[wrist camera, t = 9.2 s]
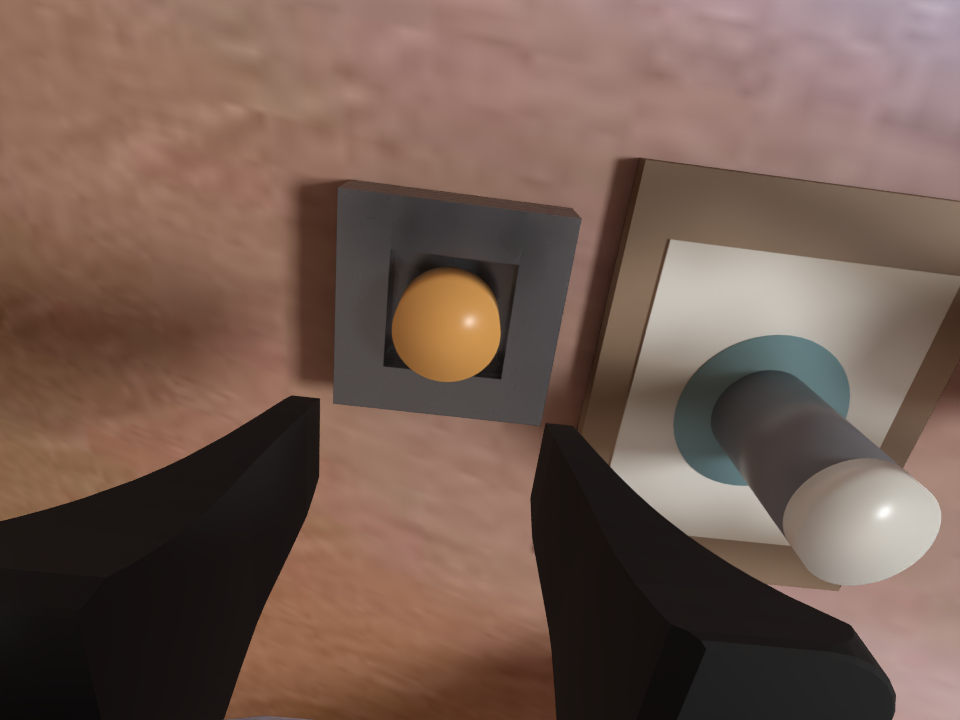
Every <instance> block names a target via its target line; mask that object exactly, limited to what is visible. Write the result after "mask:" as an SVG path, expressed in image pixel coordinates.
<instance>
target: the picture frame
mask: <svg viewBox="0 0 960 720" xmlns="http://www.w3.org/2000/svg"><path fill="white" fill-rule="evenodd" d="M959 360H960V201H956V200H949V199H942V198H934V197H927V196H919V195H912V194H905V193H897V192H890V191H882V190H875V189H868V188H860V187H853V186H845V185H838V184H831V183H823V182H816V181H808V180H801V179H794V178H786V177H779V176H772V175H764V174H757V173H749V172H742V171H735V170H727V169H720V168H712V167H705V166H698V165H690V164H683V163H675V162H668V161H661V160H653V159H646V158H640V159H639V163H638V167H637V172H636V176H635V181H634V185H633V189H632V194H631V198H630V202H629V207H628V211H627V215H626V220H625V224H624V228H623V233H622V237H621V242H620V246H619V250H618V255H617V259H616V263H615V268H614V272H613V276H612V281H611V285H610V289H609V294H608V298H607V302H606V307H605V311H604V316H603V320H602V324H601V329H600V333H599V337H598V342H597V346H596V350H595V355H594V359H593V363H592V368H591V372H590V377H589V381H588V385H587V390H586V394H585V398H584V403H583V407H582V411H581V416H580V420H579V424H578V429H577V431H578V432H579V433H580V434H581V435H582V436H583V437H584V438H585V440H586V441H587V442H588V443H589V444H590V445H591V446H592V447H593V449H594V450H595V451H596V452H597V453H598V454H599V455H600V456H601V457H602V458H603V460H604V461H605V462H606V463H607V464H608V465H609V466H610V467H611V468H612V469H613V470H614V471H615V472H616V473H617V474H618V475H619V476H620V477H621V478H622V479H623V480H624V481H625V482H626V483H627V484H628V485H629V486H630V487H631V488H632V489H633V490H634V491H635V492H636V493H637V494H638V495H639V496H640V497H642V498H643V499H644V500H645V501H646V502H647V503H648V504H649V505H650V506H651V507H653V508H654V509H655V510H656V511H657V512H659V513H660V514H661V515H662V516H663V517H665V518H666V519H667V520H668V521H670V522H671V523H672V524H674V525H675V526H676V527H677V528H679V529H680V530H681V531H683V532H684V533H685V534H687V535H688V536H689V537H691V538H692V539H694V540H695V541H696V542H698V543H699V544H701V545H702V546H704V547H705V548H707V549H708V550H710V551H711V552H713V553H714V554H716V555H717V556H719V557H721V558H722V559H724V560H725V561H727V562H728V563H730V564H731V565H733V566H735V567H737V568H738V569H740V570H742V571H743V572H745V573H747V574H748V575H750V576H752V577H754V578H756V579H757V580H759V581H761V582H763V583H765V584H770V585H780V586H791V587H801V588H812V589H822V590H833V591H839V589H840V587H841V585H838V584H833V583H829V582H826V581H824V580H821V579H819V578H818V577H816V576H814V575H813V574H812V573H811V572H810V571H809V570H808V569H807V568H806V567H805V565H804V564H803V562H802V561H801V560H800V558H799V557H798V555H797V554H796V553H795V551H794V550H793V548H792V547H791V545H790V544H789V543H788V541H787V540H786V538H785V537H784V535H783V534H782V533H781V531H780V530H779V528H778V527H777V525H776V524H775V523H774V521H773V520H772V518H771V517H770V516H769V514H768V513H767V511H766V510H765V508H764V507H763V506H762V504H761V503H760V501H759V500H758V498H757V497H756V496H755V494H754V493H753V491H752V490H751V489H750V487H749V486H748V484H747V483H746V481H745V480H744V479H743V477H742V476H741V474H740V473H739V471H738V470H737V469H736V467H735V466H734V464H733V463H732V461H731V460H730V459H729V457H728V456H727V454H726V453H725V452H724V450H723V449H722V447H721V446H720V444H719V443H718V442H717V440H716V438H715V437H714V435H713V432H712V428H711V416H712V411H713V408H714V406H715V403H716V402H717V400H718V398H719V397H720V396H721V394H722V393H723V392H724V391H725V390H726V389H727V388H728V387H729V386H730V385H731V384H733V383H734V382H736V381H737V380H739V379H740V378H742V377H744V376H746V375H749V374H752V373H755V372H759V371H765V370H777V371H783V372H787V373H790V374H792V375H794V376H796V377H797V378H798V379H800V380H801V381H802V382H803V383H805V384H806V385H807V386H808V387H809V388H810V389H811V390H813V391H814V392H815V393H816V394H817V395H818V396H820V397H821V398H822V399H823V400H824V401H825V402H827V403H828V404H829V405H830V406H831V407H832V408H833V409H835V410H836V411H837V412H838V413H839V414H840V415H842V416H843V417H844V418H845V419H846V420H847V421H849V422H850V423H851V424H852V425H853V426H854V427H855V428H857V429H858V430H859V431H860V432H861V433H862V434H864V435H865V436H866V437H867V438H868V439H869V440H870V441H872V442H873V443H874V444H875V445H876V446H877V447H879V448H880V449H881V450H882V451H883V452H884V453H886V454H887V455H888V456H889V457H890V458H891V459H892V460H894V461H895V462H896V463H897V464H898V465H899V466H901V467H902V468H903V467H904V465H905V463H906V461H907V459H908V457H909V456H910V454H911V452H912V450H913V448H914V446H915V444H916V442H917V440H918V438H919V436H920V435H921V433H922V431H923V429H924V427H925V425H926V423H927V421H928V419H929V417H930V415H931V414H932V412H933V410H934V408H935V406H936V404H937V402H938V400H939V398H940V396H941V394H942V393H943V391H944V389H945V387H946V385H947V383H948V381H949V379H950V377H951V375H952V373H953V372H954V370H955V368H956V366H957V364H958V362H959Z"/></svg>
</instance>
